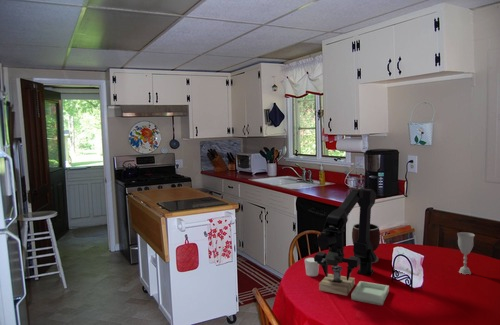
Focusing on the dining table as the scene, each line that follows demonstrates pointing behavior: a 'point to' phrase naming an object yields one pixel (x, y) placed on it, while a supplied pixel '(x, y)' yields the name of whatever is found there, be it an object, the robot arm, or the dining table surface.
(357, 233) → the mate gourd
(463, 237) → the chalice
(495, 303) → the dining table surface
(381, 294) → the tray
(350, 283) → the hole block
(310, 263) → the cup
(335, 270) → the pin
